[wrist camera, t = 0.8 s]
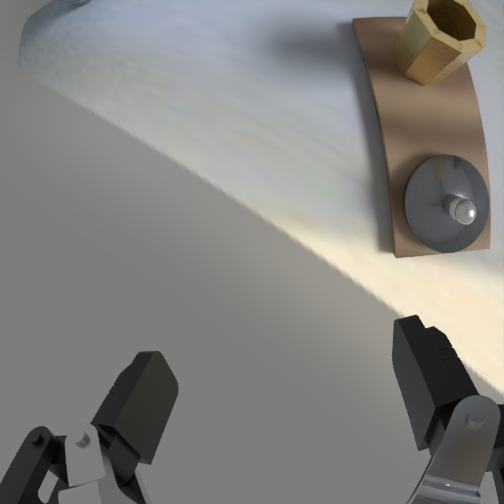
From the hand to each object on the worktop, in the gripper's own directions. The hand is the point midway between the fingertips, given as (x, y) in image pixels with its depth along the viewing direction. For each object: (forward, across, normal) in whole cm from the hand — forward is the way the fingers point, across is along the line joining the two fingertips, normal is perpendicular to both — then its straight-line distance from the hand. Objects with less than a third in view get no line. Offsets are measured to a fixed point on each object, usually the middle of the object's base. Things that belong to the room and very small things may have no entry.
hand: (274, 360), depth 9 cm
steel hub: (+17, -16, +2) cm, 23 cm away
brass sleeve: (+19, -16, -12) cm, 28 cm away
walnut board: (+20, -16, -5) cm, 26 cm away
